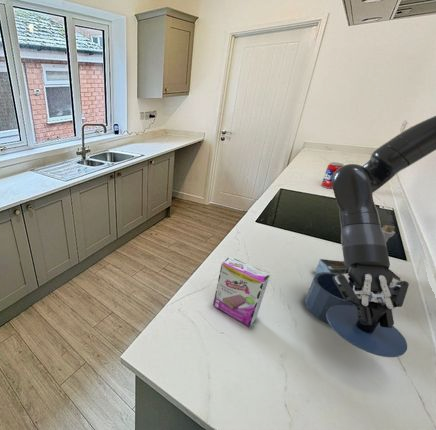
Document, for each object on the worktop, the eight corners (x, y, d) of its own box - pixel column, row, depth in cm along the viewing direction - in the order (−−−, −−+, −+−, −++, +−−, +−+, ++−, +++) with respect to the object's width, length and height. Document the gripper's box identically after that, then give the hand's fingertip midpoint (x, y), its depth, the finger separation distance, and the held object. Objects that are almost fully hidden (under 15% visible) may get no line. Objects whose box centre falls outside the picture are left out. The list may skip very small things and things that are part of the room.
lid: (408, 333, 58) (426, 308, 55) (399, 372, 51) (419, 346, 47) (334, 299, 68) (345, 276, 64) (317, 328, 60) (329, 304, 56)
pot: (363, 311, 76) (376, 288, 72) (352, 336, 69) (366, 311, 65) (312, 289, 85) (321, 266, 81) (298, 308, 77) (307, 285, 73)
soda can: (338, 189, 160) (347, 165, 153) (323, 188, 162) (331, 165, 155) (333, 185, 166) (342, 162, 160) (318, 184, 169) (326, 161, 162)
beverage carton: (313, 271, 92) (319, 256, 89) (377, 278, 88) (386, 263, 85) (324, 286, 85) (331, 270, 82) (394, 295, 81) (404, 279, 78)
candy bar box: (211, 306, 79) (220, 262, 71) (219, 298, 82) (228, 255, 75) (249, 329, 71) (263, 282, 64) (257, 318, 74) (271, 273, 67)
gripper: (339, 240, 58) (351, 322, 53) (414, 246, 56) (433, 333, 51) (319, 246, 65) (328, 320, 60) (385, 252, 63) (400, 329, 58)
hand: (376, 325), depth 55 cm, fingers closed on lid, 3 cm apart
